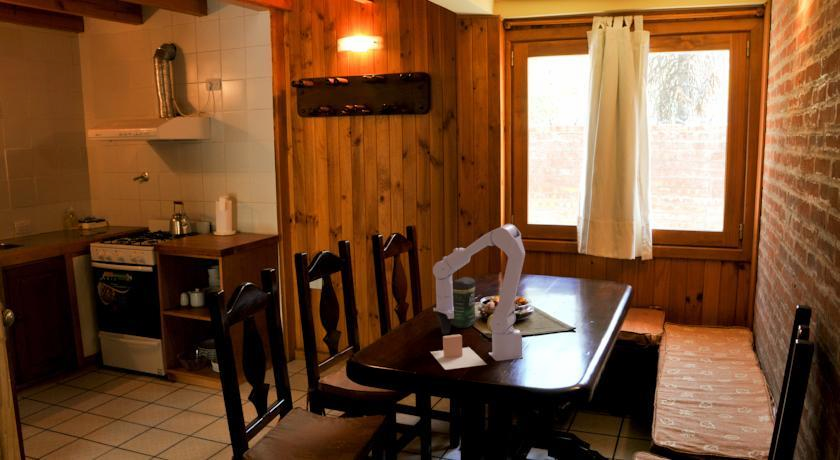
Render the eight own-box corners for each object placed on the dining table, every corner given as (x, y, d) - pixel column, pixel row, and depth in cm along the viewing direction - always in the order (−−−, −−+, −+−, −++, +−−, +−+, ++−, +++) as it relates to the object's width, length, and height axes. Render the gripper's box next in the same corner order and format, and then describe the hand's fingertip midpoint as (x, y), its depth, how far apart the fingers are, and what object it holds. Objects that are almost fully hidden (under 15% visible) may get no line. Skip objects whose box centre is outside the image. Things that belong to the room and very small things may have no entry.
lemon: (501, 331, 251) (500, 310, 250) (503, 336, 245) (503, 314, 244) (486, 332, 251) (486, 311, 249) (488, 336, 245) (488, 315, 244)
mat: (469, 348, 233) (469, 347, 233) (486, 365, 216) (486, 364, 216) (430, 353, 230) (430, 351, 230) (445, 370, 212) (445, 369, 212)
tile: (460, 354, 226) (460, 334, 225) (462, 356, 224) (461, 336, 223) (443, 356, 225) (442, 336, 224) (445, 358, 223) (444, 338, 222)
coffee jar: (467, 329, 255) (466, 281, 252) (449, 327, 259) (447, 280, 256) (479, 322, 263) (478, 276, 260) (461, 320, 267) (460, 274, 264)
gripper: (427, 291, 235) (429, 328, 237) (439, 301, 221) (440, 341, 223) (447, 289, 237) (448, 326, 239) (459, 299, 223) (460, 338, 225)
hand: (445, 333), depth 231 cm, fingers closed
